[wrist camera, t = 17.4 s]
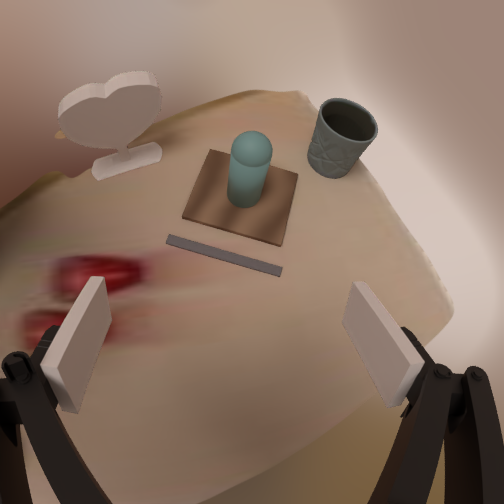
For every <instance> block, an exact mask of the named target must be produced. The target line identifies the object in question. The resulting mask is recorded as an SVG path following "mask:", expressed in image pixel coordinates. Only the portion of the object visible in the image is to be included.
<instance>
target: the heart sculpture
mask: <svg viewBox="0 0 504 504" xmlns="http://www.w3.org/2000/svg"><path fill="white" fill-rule="evenodd" d="M161 101H162V96H161V93H160V89H159V86H158V83H157V80H156V77H155V75H154V74H152V73H150V72H145V71H135V72H126V73H122V74H118V75H116V76H114V77H112V78H111V79H110V80H109V81H108V82H107V83H105V84H99V83H89V84H86V85H84V86H81V87H79V88H77V89H76V90H74V91H72V92H71V93H69V94H68V95H66V96H65V97H64V98H63V99H62V101H61V102H60V104H59V110H58V111H59V112H58V121H59V126H60V129H61V131H62V132H63V133H64V134H65V136H66V137H67V138H68V139H69V140H71V141H74V142H75V143H77V144H80V145H82V146H87V147H94V148H105V149H117V151H118V152H117V153H114V154H111V155H108V156H105V157H102V158H99V159H96V160H95V162H94V164H93V167H92V171H91V172H92V174H93V176H94V177H95V178H96V179H97V180H98V181H99V180H102V179H105V178H108V177H111V176H114V175H117V174H120V173H123V172H127V171H130V170H133V169H136V168H140V167H143V166H146V165H150V164H153V163H157V162H160V159H161V156H162V148H161V147H160V146H159V145H158V144H157V143H156V142H151V143H147V144H143V145H140V146H137V147H133V148H130V149H128V147H127V145H128V144H129V143H130V142H132V141H133V140H134V139H136V138H137V137H138V136H140V135H141V134H142V133H143V132H144V131H145V130H146V129H147V128H148V127H149V126H150V125H151V124H153V122H154V120H155V118H156V117H157V115H158V114H159V112H160V110H161Z"/></svg>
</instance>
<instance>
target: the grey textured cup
mask: <svg viewBox="0 0 504 504" xmlns="http://www.w3.org/2000/svg"><path fill="white" fill-rule="evenodd" d="M377 133H378V127H377V123H376V121H375V119H374V117H373V116H372V115H371V114H370V112H368V111H367V110H366V109H365V108H364V107H362V106H361V105H359V104H357V103H355V102H352V101H350V100H347V99H342V98H333V99H329V100H327V101H325V102H324V103H323V104H322V105H321V107H320V110H319V114H318V118H317V122H316V127H315V130H314V133H313V137H312V142H311V143H310V146H309V149H308V155H307V156H308V161H309V164H310V165H311V167H312V168H313V169H314V170H315V171H316V172H317V173H319V174H320V175H322V176H324V177H327V178H335V179H336V178H340V177H342V176H344V175H345V174H347V172H348V171H349V170H350V168H351V167H352V166H353V164H354V163H355V161H356V160H357V159H358V158H359V157H360V156H361V154H362V153H363V152H364V151H365V150H366V148H367V147H368V146H369V145H370V144H371V142H372V141H373V140H374V139H375V138H376V136H377Z"/></svg>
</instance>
